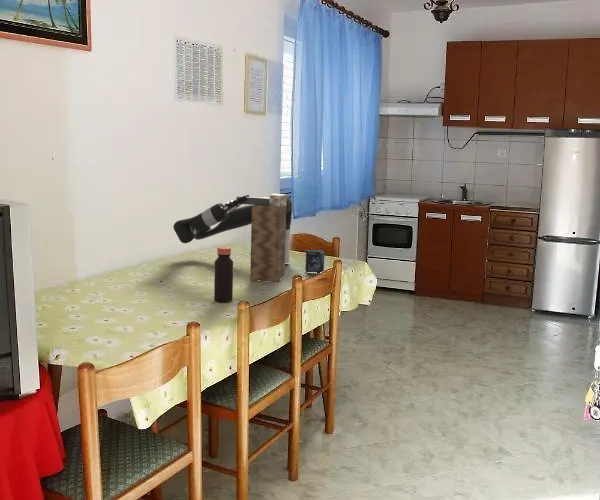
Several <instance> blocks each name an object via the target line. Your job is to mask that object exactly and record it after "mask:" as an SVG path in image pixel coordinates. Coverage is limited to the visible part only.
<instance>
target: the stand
mask: <svg viewBox="0 0 600 500" xmlns="http://www.w3.org/2000/svg"><path fill="white" fill-rule="evenodd" d="M287 196H288V195H287V194H286V193H285V194H284V193H272V194H270V195H269V198H270V206H264V205H253V206H252V223H251V224H250V225H251V229H250V230H251V231H250V233H251V236H250V268H249V269H250V271H249V274H250V276H249V278H250V279H249V280H250V281H253V280H260V281H259V282H264V281H271V282H270V283H276V282H277V283H279V282H280V281H281V280H282V279H283V278H284V277H285V266H286V265H285V236H286V200H287ZM283 276H284V277H283ZM282 277H283V278H282ZM281 278H282V279H281ZM280 279H281V280H280ZM279 280H280V281H279ZM278 281H279V282H278Z"/></svg>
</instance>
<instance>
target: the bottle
mask: <svg viewBox="0 0 600 500" xmlns="http://www.w3.org/2000/svg"><path fill="white" fill-rule="evenodd" d="M216 249H217V252H216V253H217V258H216V259H215V260H214V277H213V278H214V281H213V282H214V289H213V290H214V291H213V293H214V295H213V300H214V301H215V302H217V303H230V302H232V301H233V296H234V295H233V292H234V291H233V290H234V289H233V288H234V286H233V285H234V282H233V281H234V261H233V260H232V258H231V255H232V252H231V251H232V248H231V247H229V246H218V247H217V248H216Z"/></svg>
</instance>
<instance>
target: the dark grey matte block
mask: <svg viewBox="0 0 600 500" xmlns="http://www.w3.org/2000/svg"><path fill="white" fill-rule="evenodd" d="M243 196H244V195H237V196H236V199H237V200H238V199H239V198H241V197H243ZM245 196H246V195H245ZM246 197H247V201H245V202H243V203H241V204H242V205H247V206H249V205H264V206H270V197H264V196H250V197H248V196H246Z"/></svg>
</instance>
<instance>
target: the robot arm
mask: <svg viewBox="0 0 600 500" xmlns="http://www.w3.org/2000/svg"><path fill="white" fill-rule="evenodd" d="M242 196H243V197H241V198H239V199H238V200H237V198H236V199H233V200H231V201H229V202H226V203H224V204H223V203H221V202H218V203H216V204H214V205H212V206H210V207H208V208H206V209H205V210H204V211H202V212H200V213H199V214H197V215H195V216H192V217H190V218H189V217H188V218H184V219H180V220H177V221H176V222H175V223H174V224H173V230H174V232H175V235H176V236H177V238H178V240H179V242H180V243H182V244H188V243H191V242H192V241H194V240H198V241H199V240H205V239H207V238H210V237H213V236H215V235H218V234H221V233H224V232H227V231H231V230H234V229H239V228H241V227H242V228H243V227H246V226H250V225H251V223H252V206H253V205H243V204H241V203H243V202H245V201H247V197H246V196H248V197H251V196H250V194H247V195H242ZM242 205H243V206H242ZM292 212H293V203H292V200H291V198H290V197H289V196H288V195H287V200H286V236H285V263H290V243H291V241H290V240H291V238H290V237H291V225H292V217H293V213H292ZM215 225H216V226H215ZM212 226H215V227H213V228H211V227H212Z"/></svg>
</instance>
